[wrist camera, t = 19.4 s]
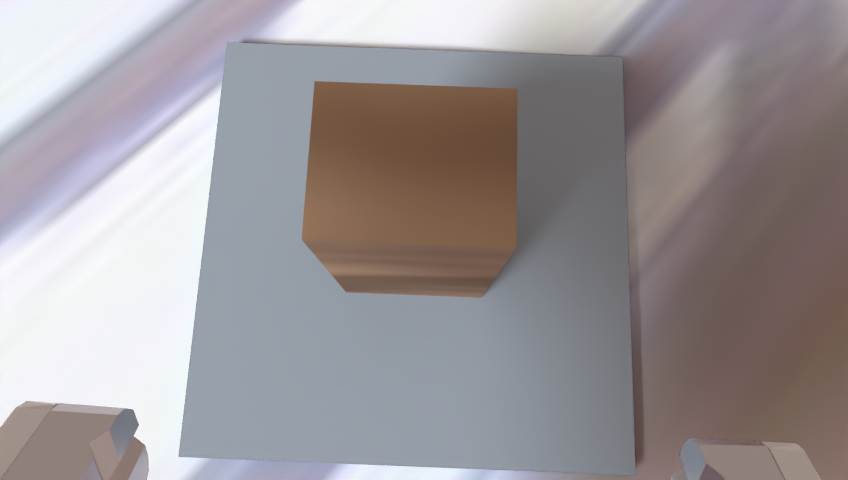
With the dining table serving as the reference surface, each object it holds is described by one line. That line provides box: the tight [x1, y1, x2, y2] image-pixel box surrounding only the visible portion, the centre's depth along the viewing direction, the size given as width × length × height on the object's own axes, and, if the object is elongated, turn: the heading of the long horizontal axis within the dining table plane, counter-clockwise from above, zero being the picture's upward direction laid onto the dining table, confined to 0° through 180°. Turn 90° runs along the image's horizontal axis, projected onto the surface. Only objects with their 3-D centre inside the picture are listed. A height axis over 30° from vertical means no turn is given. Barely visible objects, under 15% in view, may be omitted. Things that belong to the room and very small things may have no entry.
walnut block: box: [302, 81, 518, 298], centre depth 20 cm, size 4×5×9 cm
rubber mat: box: [179, 42, 636, 475], centre depth 24 cm, size 16×16×1 cm
